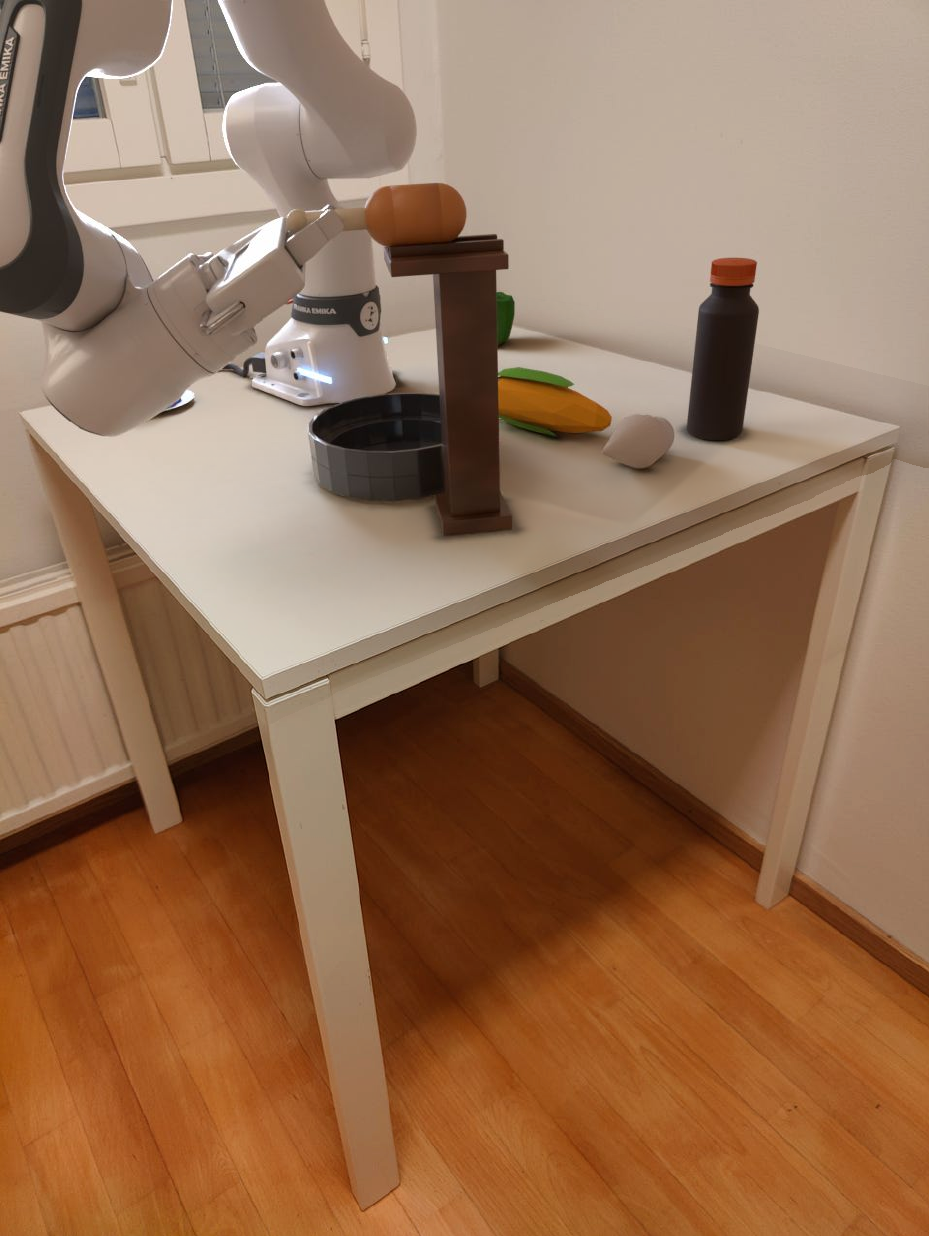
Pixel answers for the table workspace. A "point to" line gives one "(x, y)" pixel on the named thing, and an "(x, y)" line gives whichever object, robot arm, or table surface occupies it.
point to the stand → (465, 374)
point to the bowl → (380, 447)
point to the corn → (547, 403)
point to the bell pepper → (504, 316)
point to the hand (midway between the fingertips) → (339, 214)
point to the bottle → (723, 352)
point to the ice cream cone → (640, 440)
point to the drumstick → (400, 215)
